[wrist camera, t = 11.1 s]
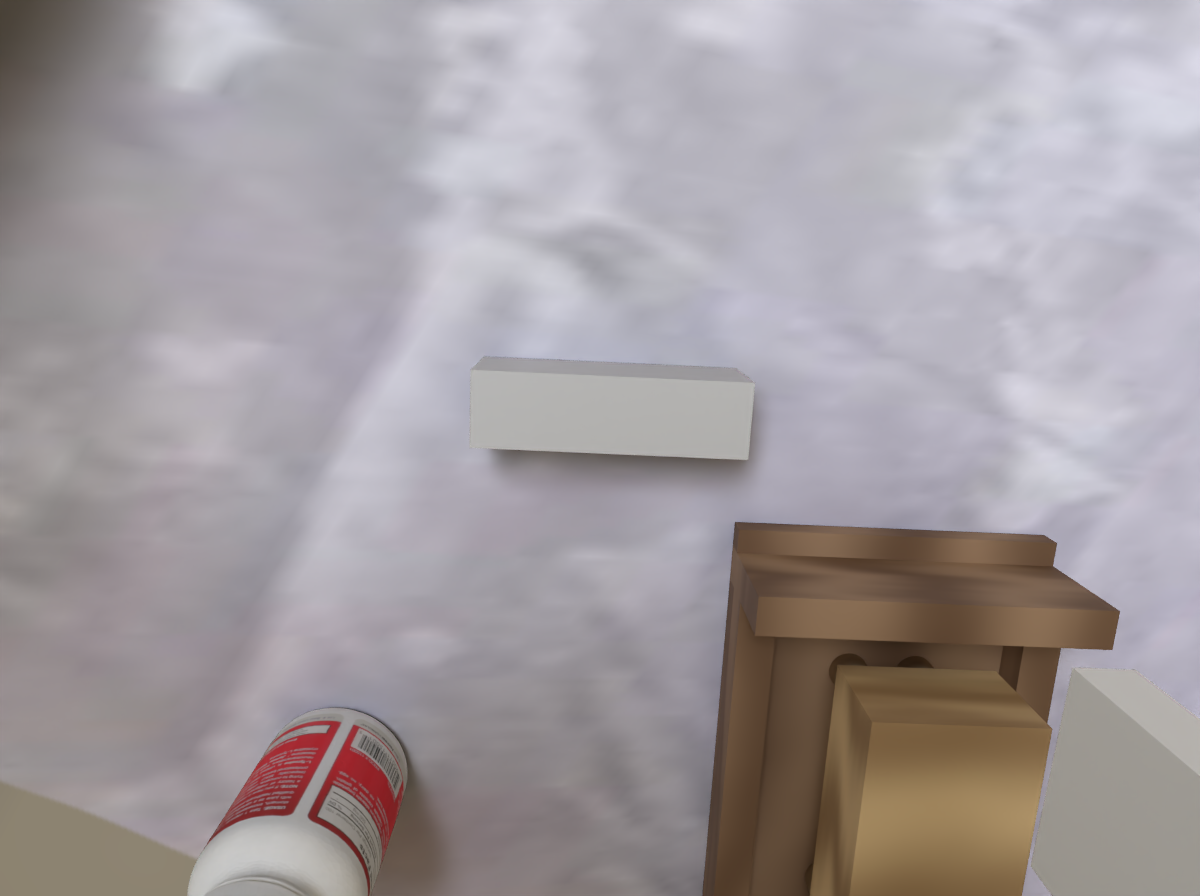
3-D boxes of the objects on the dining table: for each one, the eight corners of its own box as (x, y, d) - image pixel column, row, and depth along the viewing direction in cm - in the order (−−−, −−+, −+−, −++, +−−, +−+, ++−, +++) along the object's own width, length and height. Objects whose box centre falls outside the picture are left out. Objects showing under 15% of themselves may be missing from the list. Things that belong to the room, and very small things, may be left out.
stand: (483, 425, 34) (469, 447, 30) (484, 356, 34) (470, 369, 30) (730, 436, 34) (748, 460, 30) (736, 368, 34) (754, 382, 30)
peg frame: (696, 966, 40) (712, 1076, 35) (735, 522, 35) (761, 570, 30) (968, 975, 40) (1026, 1085, 35) (1044, 535, 35) (1125, 585, 30)
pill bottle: (255, 803, 38) (123, 1021, 27) (289, 684, 37) (164, 864, 26) (390, 841, 38) (312, 1071, 28) (428, 725, 37) (362, 918, 26)
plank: (837, 664, 32) (872, 722, 28) (995, 670, 32) (1052, 728, 28) (799, 977, 35) (826, 1068, 31) (944, 981, 35) (988, 1073, 31)
